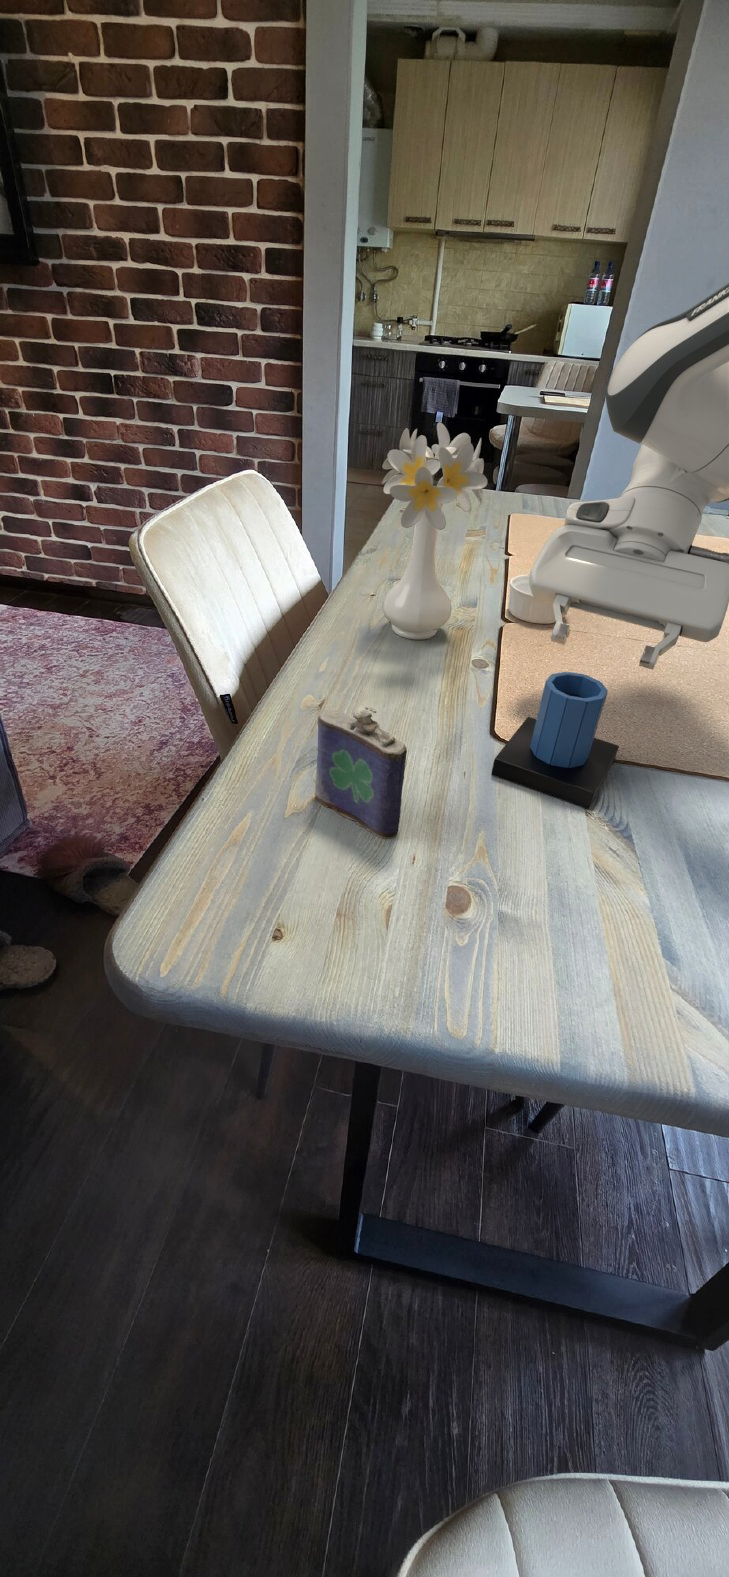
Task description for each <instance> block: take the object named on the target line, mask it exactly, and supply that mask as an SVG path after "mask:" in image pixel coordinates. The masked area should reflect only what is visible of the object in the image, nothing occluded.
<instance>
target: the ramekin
mask: <svg viewBox="0 0 729 1577" xmlns="http://www.w3.org/2000/svg"><path fill="white" fill-rule="evenodd" d="M529 575H530V574H521V575H516V576H513V577H512V578H511V579H510V580H509V596H508V604H507V605H508V607H507V608H508V611H509V613H510V614H511V615H512V616H513V617H515V618H517V619H518V620H521V621H524V622H526V623H531V624H537V625H538V624H540V625H544V624H545V625H549V624H555V623H556V621H555V616H554V609H553V603H551V602H547V601H543V600H539V599H536V598H534V596H533V594H532V592H531V589H530V586H529ZM561 615H562V617H563V616H564V615H563V614H562V613H561Z"/></svg>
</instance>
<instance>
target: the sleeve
mask: <svg viewBox="0 0 729 1577" xmlns="http://www.w3.org/2000/svg"><path fill="white" fill-rule="evenodd" d="M608 692H609V691H608V689H607V688H606V686H605V685H604V684H603V682H602V681H600V680H599V679H596V678H594V677H591V676H590V675H587V674H584V673H579V672H573V671H562V672H556V673H552V674H550V675H549V677H548V678H547V679H546V680H545V682H544V687H543V691H542V695H541V699H540V703H539V708H538V712H537V716H536V719H537V720H536V724H535V728H534V732H533V736H532V741H531V745H530V748H531V750H532V752H533V754H534V755H535V756H536V758H538V759H540V760H542V761H544V762H545V763H547V764H549V765H550V764H551V765H552V766H559V767H565V768H568V767H569V768H572V767H576V766H581V765H583V764H584V763H585V762H586V760H587V758H588V757H589V753H590V750H591V746H592V743H593V740H594V738H595V736H596V733H597V731H598V730H597V729H598V727H599V723H600V719H601V716H602V713H603V709H604V706H605V703H606V700H607V696H608ZM565 693H571V694H576V695H579V696H581V697H583V698H580V697H574V696H569V695H567V694H565Z"/></svg>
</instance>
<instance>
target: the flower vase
mask: <svg viewBox="0 0 729 1577" xmlns="http://www.w3.org/2000/svg"><path fill="white" fill-rule="evenodd" d="M417 433H418V428H416V429H414V431H413V432H412V434H411V437H410V430H409V428H407V427H406V428H405V429H404V430H403V432H402V434H401V437H400V440H399V449H391V450H389V451H388V453H387V458H386V459H385V460H384V461H383V463H382V466H381V468H382V469H383V470H390V471H388V472H387V473H386V475H385V476H384V478H383V479H382V481H381V485H384V486H383V493H384V494H386V495H390V496H391V497H392V498H394V499H395V500H396V501H400V502H403V503H408V502H409V503H408V504H407V505H406V506H405V508H404V510H403V511H402V514H401V517H400V525H401V527H403V528H404V529H409V528H412V527H413V526H414V527H413V534H412V535H413V537H412V542H411V548H410V554H409V558H408V562H407V566H406V568H405V570H404V572H403V574H402V576H401V577H400V579H399V580H398V581H397V582H395V583H394V584H393V585H392V586H391V587H390V588H389V589H388V590H387V591H386V593H385V594H384V597H383V601H382V604H381V610H382V612H383V615H384V617H385V618H386V620H387V621H388V622H389V623H390V624H391V630H392V631H393V632H394V634H396V635H397V636H399V637H401V638H404V639H408V640H414V641H415V640H418V641H420V640H428V639H431V638H433V637H434V636H436V635H437V632H438V629H440V628H441V627H443V626H444V625H445V624H446V623H447V622H448V620H449V619H450V618H451V616H452V611H453V610H452V608H453V607H452V602H451V599H450V597H449V595H448V593H447V591H446V590H445V589H444V588H443V587H442V585H441V583H440V580H439V577H438V574H437V568H436V553H437V541H438V531H443V530H445V529H446V526H447V520H446V517H445V514H444V512H443V510H442V509H443V505H445V504H449V503H452V502H454V500H456V502H457V504H458V506H459V508H460V509H461V510H462V511H463V512H465V513H468V512H470V511H471V509H472V500H471V496H470V493H469V491H468V490H471V491H472V492H473V494H474V496H475V497H476V499H477V501H478V503H479V504H480V505H482V504H484V503H485V502H484V501H485V496H484V492H483V489H484V488H485V487H487V486H488V478H487V477H486V476H485V474H484V467H485V463H484V462H485V461H484V458H480V453H481V448H482V447H481V446H482V437H480V438H479V441H478V444H477V445H476V448H475V450H474V446H473V444H472V442H471V440H472V439H471V436H470V435H469V434H468V433H466V432H462V433H460V434H458V435H457V436H455V437H454V438H453V440H451V437H450V433H449V430H448V428H447V427H446V426H445V424H443V423H442V422H437V424H436V433H437V438H438V444H437V443H435V444H433V445H431V448H430V447H429V446H428V441H427V437H426V436H425V435H422V434H421V435H419V436H418V437H417V435H418V434H417ZM440 469H441V470H442V477H441V478H439V480H435V474H437V473H438V472H439V470H440Z"/></svg>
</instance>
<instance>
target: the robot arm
mask: <svg viewBox="0 0 729 1577" xmlns="http://www.w3.org/2000/svg"><path fill="white" fill-rule="evenodd" d="M605 404H606V409H607V414H608V419H609V421H610V425H611V428H612V431H613V432H614V433H616V434H618V435H621V436H622V437H625V438H627V440H628V439H629V440H630V441H633V442H634V443H636V444H639V445H640V444H641V445H640V448H639V450H638V452H637V454H636V457H635V459H634V462H633V465H632V468H631V477H630V481H629V483H628V485H627V486H626V487H625V488H624V490H623V491H622V492H621V494H620V496H619V497H615V498H608V499H602V500H599V499H598V500H591V501H589V500H588V501H577V502H573V503H571V504H570V505H569V506H568V508H567V510H566V513H565V517H564V525H562V526H560V527H558V528H556V529H555V530H554V531H553V532H552V533H551V534H550V535H549V537H548V538H547V539H546V541H545V542H544V545H543V546H542V547H541V550H540V551H539V553H538V555H537V556H536V559H535V561H534V562H533V565H532V568H531V569H530V572H529V574H528V575H529V586H530V589H531V592H532V594H533V596H534V598H536V599H539V600H543V601H547V602H551V603H553V609H554V616H555V621H556V622H555V623H554V626H553V629H552V631H551V635H550V641H551V642H552V643H555V644H560V645H563V646H565V645H566V643H567V640H568V639H569V637H570V634H571V625H570V624H569V623H566V622H564V621H563V616H566V615H567V614H568V612H569V609H570V608H571V609H574V610H578V611H582V612H586V613H589V614H594V615H596V616H601V617H606V618H609V619H612V620H617V621H620V622H624V623H628V624H632V625H636V626H639V627H644V628H647V629H651V630H655V631H658V632H663V636H662V640H661V641H660V642H657V644H656V645H655V646H650V645H645V647H644V649H643V652H642V653H643V654H642V655H641V657H640V658H639V667H642V668H645V669H649V670H652V671H654V670H655V667H656V665H657V662H658V660H659V657H661V656H663V655H664V654H665V653H666V652H667V651H669V650H670V649H672V648H673V647H674V646H675V645H676V644H677V642H678V639H679V637H682V638H685V639H690V640H694V641H697V642H700V643H710V641H712V640H715V639H716V638H717V637H718V636H719V634H720V632H721V629H722V626H723V624H724V620H725V618H726V614H727V611H728V608H729V552H719V551H716V550H712V549H709V548H705V547H700V546H697V545H693V543H694V540H695V538H696V535H697V533H698V531H699V528H700V525H701V523H702V518H703V513H704V510H705V508H706V507H707V506H708V505H709V504H710V503H713V502H715V503H718V504H719V503H724V502H728V501H729V282H728V283H726V284H725V285H724V286H722V287H720V288H719V289H718V290H715V291H714V292H713V293H712V294H710V295H709V296H707V297H706V298H704V299H703V300H701V301H700V302H698V303H696V304H695V305H693V306H691V308H689V309H687V310H686V311H683V312H682V313H679V314H677V315H674V316H672V317H671V318H668V319H666V320H663V321H661V322H658V323H657V324H655V325H653V326H651V327H650V328H648V329H647V330H645V331H644V332H642V334H640V335H639V336H638V337H637V338H636V339H635V340H634V341H633V343H631V345H630V346H629V347H628V348H627V349H626V350H625V352H624V353H623V354H622V356H621V357H620V359H619V360H618V361H617V364H616V366H614V369H613V371H612V373H611V374H610V377H609V379H608V381H607V384H606V386H605ZM561 613H562V614H563V616H562V615H561Z"/></svg>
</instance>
